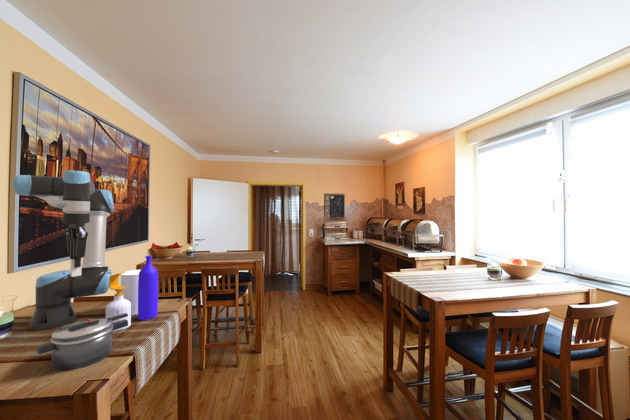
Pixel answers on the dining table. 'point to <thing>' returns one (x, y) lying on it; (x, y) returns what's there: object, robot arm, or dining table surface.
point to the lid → (84, 327)
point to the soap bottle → (118, 302)
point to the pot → (81, 349)
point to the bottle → (148, 291)
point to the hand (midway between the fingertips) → (76, 275)
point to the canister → (131, 288)
